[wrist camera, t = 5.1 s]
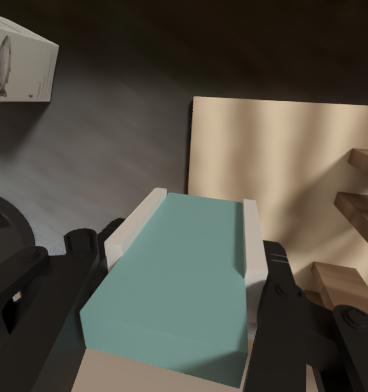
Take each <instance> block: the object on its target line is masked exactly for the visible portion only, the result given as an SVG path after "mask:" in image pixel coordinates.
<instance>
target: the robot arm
mask: <svg viewBox="0 0 368 392" xmlns="http://www.w3.org/2000/svg"><path fill="white" fill-rule="evenodd" d="M166 194H167V189H163V188H155V189H154V190H153V191H152V192H151V193H150V194H149V195H148V196H147V197H146V198H145V200H144V201H143V202H142V203H141V204H140V205H139V206H138V207H137V208H136V209H135V210H134V211H133V212H132V213H131V214H130V215H129V217H128V218H127V219H123V218H118V219H116V220H114V221H112V222H111V223H110V224H109V225H107V226H106V228H104V229H103V230H102V232H100V233H99V234H98V235H97V233H96V232H95V231H94V230H92V229H87V228H83V229H77V230H73V231H71V232H69V233H67V234H66V235H65V236H64V242H65V247H66V252H67V253H66V254H65V255H55V256H49V255H48V251H47V249H46V248H44V247H42V246H35V240H34V235H33V232H32V230H31V228H30V226H29V224H28V222H27V221H26V219H25V218H24V216H23V215H22V214H21V213H20V212H19V211H18V210H17V209H16V208H15V207H14V206H13V205H12V204H10V203H9V202H8V201H6V200H5V199H3V198H1V197H0V392H71V390H72V387H73V384H74V382H75V379H76V376H77V373H78V370H79V367H80V365H81V361H82V359H83V356H84V353H85V350H86V345H85V339H84V334H83V328H82V323H81V317H80V311H81V310H82V308H83V307H84V306H85V304H86V303H87V302H88V300H89V299H90V298H91V296H92V295H93V294H94V292H95V291H96V290H97V288H98V287H99V286H100V284H101V283H102V282H103V280H104V279H105V278H106V276H107V275H108V274H109V272H110V271H111V270H112V268H113V267H114V266H115V264H116V263H117V261H118V260H119V259H120V257H121V256H123V254H124V253H125V252H126V250H127V249H128V248H129V246H130V245H131V244H132V242H133V241H134V240H135V238H136V237H137V236H138V234H139V233H140V232H141V230H142V229H143V228H144V226H145V225H146V223H147V222H148V221H149V219H150V218H151V217H152V215H153V214H154V213H155V211H156V210H157V209H158V207H159V206H160V205H161V203H162V202H163V201H164V199H165V198H166ZM242 220H243V251H244V280H245V286H246V312H247V323H252V324H255V323H256V319H257V318H258V327H257V331H256V335H255V339H254V343H253V348H252V353H251V357H250V361H249V366H248V370H247V374H246V379H245V383H244V387H243V392H306V364H308V365H310V366H311V367H312V369H313V373H314V377H315V381H316V384H317V388H318V392H368V314H367V313H366V312H364V311H362V310H360V309H358V308H356V307H353V306H350V305H343V304H340V305H337V306H335V307H334V309H333V311H331V310H329V309H327V308H324V307H322V306H319V305H317V304H315V303H313V302H311V301H310V300H308V299H307V298H306V294H305V293H304V291H303V290H302V289H301V288H300V287H299V286H297V285H296V283H295V280H294V277H293V274H292V270H291V267H290V264H289V261H288V258H287V254H286V251H285V249H284V248H283V247H282V245H281V244H280V243H279V242H273V241H267V240H263V239H262V233H261V227H260V222H259V216H258V210H257V204H256V200H249V199H243V204H242ZM18 292H20V295H21V298H19V299H18V300H17V301H15V302H14V301H13V298H12V297H13V296H14V295H15V294H17V293H18Z"/></svg>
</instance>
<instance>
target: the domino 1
mask: <svg viewBox="0 0 368 392" xmlns="http://www.w3.org/2000/svg"><path fill="white" fill-rule="evenodd" d="M80 317H81V323H82V328H83V334H84V339H85V345H86V347H89V348H93V349H96V350H100V351H104V352H107V353H111V354H114V355H118V356H122V357H126V358H129V359H133V360H137V361H140V362H144V363H147V364H151V365H155V366H158V367H162V368H166V369H169V370H173V371H177V372H180V373H184V374H188V375H191V376H195V377H199V378H203V379H206V380H210V381H213V382H217V383H221V384H224V385H228V386H232V387H235V388H240V384H241V379H242V376H243V371H244V368H245V364H246V360H247V356H248V338H247V312H246V286H245V280H244V251H243V220H242V202H237V201H230V200H222V199H215V198H207V197H199V196H192V195H184V194H176V193H168V195H167V196H166V198H165V199H164V201H163V202H162V203H161V205H160V206H159V207H158V209H157V210H156V211H155V213H154V214H153V215H152V217H151V218H150V219H149V221H148V222H147V223H146V225H145V226H144V228H143V229H142V230H141V232H140V233H139V234H138V236H137V237H136V238H135V240H134V241H133V242H132V244H131V245H130V246H129V248H128V249H127V250H126V252H125V253H124V254H123V256H121V257H120V259H119V260H118V261H117V263H116V264H115V266H114V267H113V268H112V270H111V271H110V272H109V274H108V275H107V276H106V278H105V279H104V280H103V282H102V283H101V284H100V286H99V287H98V288H97V290H96V291H95V292H94V294H93V295H92V296H91V298H90V299H89V300H88V302H87V303H86V304H85V306H84V307H83V308H82V310H81V311H80Z"/></svg>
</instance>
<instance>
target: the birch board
mask: <svg viewBox="0 0 368 392" xmlns="http://www.w3.org/2000/svg"><path fill="white" fill-rule="evenodd" d="M352 148H357V149H368V106H361V105H342V104H324V103H305V102H286V101H268V100H249V99H230V98H212V97H194V101H193V118H192V134H191V150H190V167H189V183H188V195H192V196H199V197H207V198H215V199H222V200H230V201H237V202H242V204H243V199H249V200H256V204H257V210H258V216H259V222H260V227H261V233H262V239H263V240H267V241H273V242H279V243H280V244H281V245H282V247H283V248H284V249H285V251H286V254H287V258H288V261H289V264H290V267H291V270H292V274H293V277H294V280H295V283H296V285H297V286H299V287H300V288H301V289H302V290H303V291H304V290H308V291H314V292H319V290H318V288H317V285H316V283H315V280H314V278H313V276H312V273H311V268H312V265H313V262H314V261H316V262H321V263H327V264H333V265H339V266H345V267H350V268H356V270H357V271H358V272H359V274H360V275H361V277H362V278H363V280H364V281H365V283H366V284H367V286H368V243H367V242H366V241H365V239H364V238H363V237H362V236H361V235H360V234H359V233H358V231H357V230H356V229H355V228H354V227H353V226H352V225H351V224H350V222H349V221H348V220H347V219H346V218H345V217H344V216H343V214H342V213H341V212H340V211H339V210H338V209H337V208H336V206H335V205H334V204H333V203H334V200H335V197H336V194H337V192H347V193H355V194H364V195H368V175H367V174H365V173H364V172H362V171H360V170H359V169H357V168H355V167H354V166H352V165H350V164H349V163H347V162H348V159H349V156H350V153H351V150H352Z"/></svg>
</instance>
